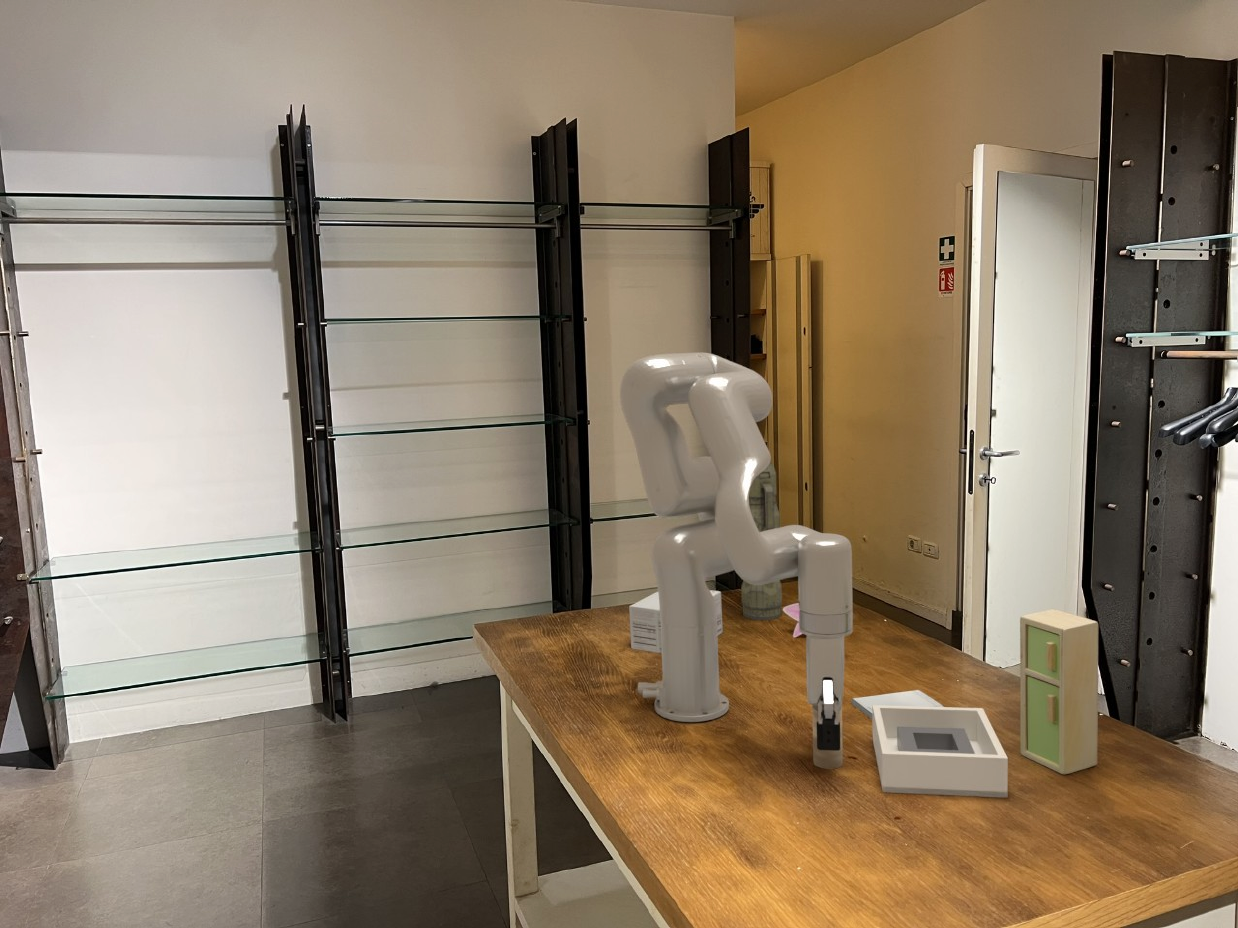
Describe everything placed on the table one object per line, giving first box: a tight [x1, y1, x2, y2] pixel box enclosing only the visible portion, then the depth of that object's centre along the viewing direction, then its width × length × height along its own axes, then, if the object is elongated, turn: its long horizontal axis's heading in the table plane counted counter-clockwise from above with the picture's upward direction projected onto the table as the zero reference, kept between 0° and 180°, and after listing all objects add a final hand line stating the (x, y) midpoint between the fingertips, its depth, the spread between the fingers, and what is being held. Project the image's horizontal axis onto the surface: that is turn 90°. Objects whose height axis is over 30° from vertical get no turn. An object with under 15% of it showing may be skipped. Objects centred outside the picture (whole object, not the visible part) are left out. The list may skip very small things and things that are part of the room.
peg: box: [811, 694, 844, 770], centre depth 136 cm, size 4×4×10 cm
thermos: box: [741, 460, 783, 621], centre depth 209 cm, size 9×12×35 cm
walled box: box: [872, 705, 1009, 799], centre depth 134 cm, size 16×17×6 cm
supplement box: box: [628, 589, 724, 654], centre depth 195 cm, size 17×13×9 cm
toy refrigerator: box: [1019, 608, 1099, 775], centre depth 133 cm, size 8×7×21 cm
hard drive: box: [851, 689, 944, 721], centre depth 156 cm, size 2×8×12 cm
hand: (827, 735), depth 137 cm, fingers open, 8 cm apart
